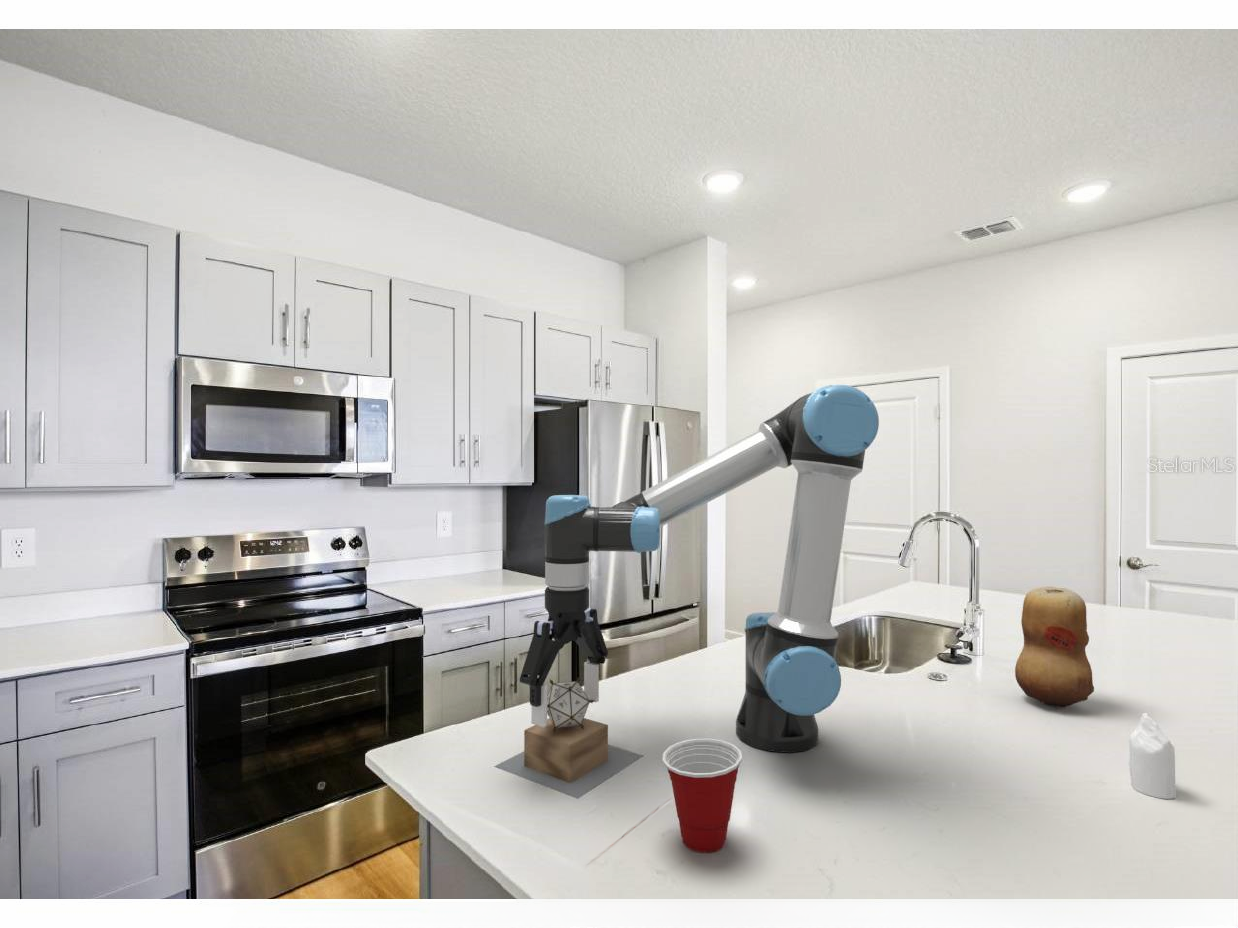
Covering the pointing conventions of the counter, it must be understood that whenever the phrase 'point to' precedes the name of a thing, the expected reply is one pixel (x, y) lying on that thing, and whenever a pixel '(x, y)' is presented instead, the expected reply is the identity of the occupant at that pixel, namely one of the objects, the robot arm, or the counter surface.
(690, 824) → the plastic cup
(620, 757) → the build mat
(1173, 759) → the white pouch
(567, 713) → the game die
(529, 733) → the walnut block
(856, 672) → the counter surface
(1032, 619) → the butternut squash
